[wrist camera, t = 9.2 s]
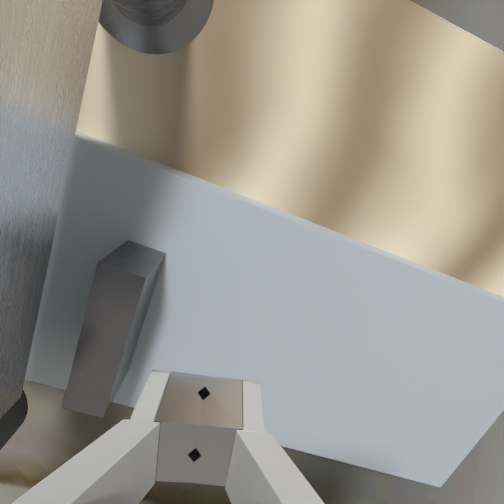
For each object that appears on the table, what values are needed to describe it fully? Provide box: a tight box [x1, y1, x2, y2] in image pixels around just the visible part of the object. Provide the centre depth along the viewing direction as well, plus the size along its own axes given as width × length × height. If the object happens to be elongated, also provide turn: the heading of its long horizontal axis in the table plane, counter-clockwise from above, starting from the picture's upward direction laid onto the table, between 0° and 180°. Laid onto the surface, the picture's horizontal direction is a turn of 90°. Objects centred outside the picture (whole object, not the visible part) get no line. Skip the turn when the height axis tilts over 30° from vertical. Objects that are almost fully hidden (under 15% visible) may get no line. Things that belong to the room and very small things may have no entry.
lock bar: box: [0, 0, 187, 450], centre depth 8 cm, size 18×3×8 cm, turn 158°
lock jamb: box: [25, 0, 504, 487], centre depth 12 cm, size 26×20×6 cm
